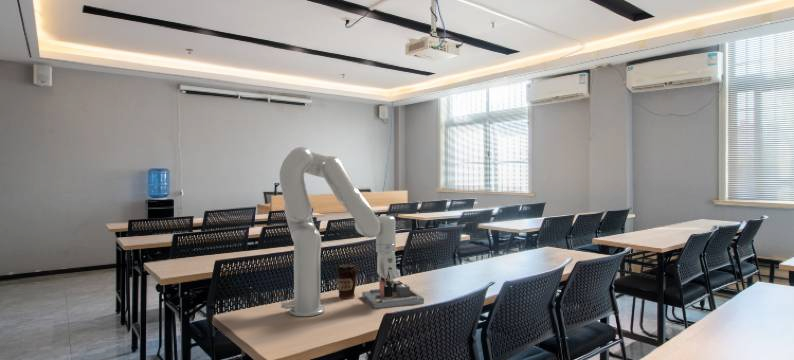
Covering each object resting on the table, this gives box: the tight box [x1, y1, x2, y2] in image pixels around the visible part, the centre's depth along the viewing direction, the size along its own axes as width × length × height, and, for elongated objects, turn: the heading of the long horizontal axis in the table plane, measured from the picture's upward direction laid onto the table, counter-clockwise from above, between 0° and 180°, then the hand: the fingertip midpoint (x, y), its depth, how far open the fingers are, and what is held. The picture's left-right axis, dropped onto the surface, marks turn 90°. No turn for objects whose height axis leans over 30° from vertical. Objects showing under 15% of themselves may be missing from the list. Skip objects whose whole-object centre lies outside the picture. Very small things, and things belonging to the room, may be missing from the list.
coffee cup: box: [336, 264, 358, 300], centre depth 182 cm, size 9×8×13 cm
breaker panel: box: [361, 280, 425, 310], centre depth 178 cm, size 20×17×6 cm
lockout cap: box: [378, 279, 389, 298], centre depth 173 cm, size 5×5×6 cm
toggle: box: [396, 283, 411, 298], centre depth 175 cm, size 4×4×4 cm
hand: (385, 294), depth 173 cm, fingers closed on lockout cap, 4 cm apart
